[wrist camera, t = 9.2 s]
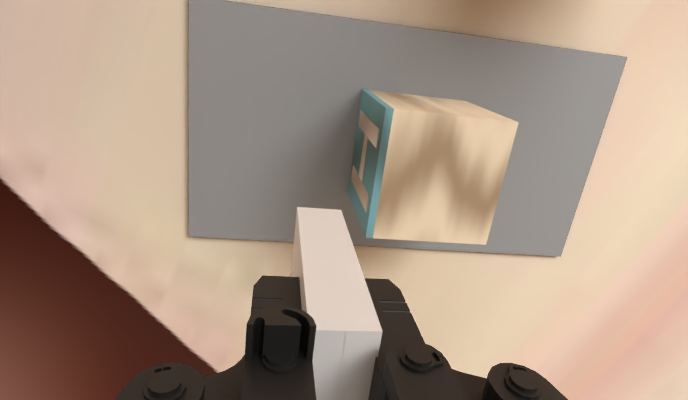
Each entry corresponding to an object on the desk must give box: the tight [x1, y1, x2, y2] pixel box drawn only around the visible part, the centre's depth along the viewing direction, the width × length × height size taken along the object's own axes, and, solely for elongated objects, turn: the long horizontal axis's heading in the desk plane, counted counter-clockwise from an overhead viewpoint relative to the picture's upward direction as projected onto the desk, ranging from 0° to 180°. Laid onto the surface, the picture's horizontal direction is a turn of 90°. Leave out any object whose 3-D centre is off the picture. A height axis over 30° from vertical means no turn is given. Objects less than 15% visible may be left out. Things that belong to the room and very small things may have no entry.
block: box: [348, 89, 519, 245], centre depth 26 cm, size 7×7×7 cm
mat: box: [189, 0, 627, 256], centre depth 30 cm, size 15×28×1 cm, turn 83°
